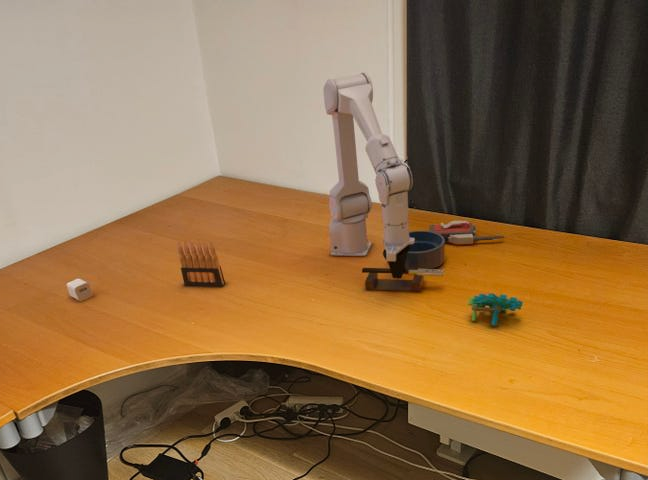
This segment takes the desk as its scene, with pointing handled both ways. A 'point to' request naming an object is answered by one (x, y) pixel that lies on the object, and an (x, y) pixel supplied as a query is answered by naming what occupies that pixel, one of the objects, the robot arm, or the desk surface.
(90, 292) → the usb wall charger
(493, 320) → the teal knobby toy
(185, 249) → the ammunition clip
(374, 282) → the cutlery rest
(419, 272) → the fork
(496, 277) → the desk surface
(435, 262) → the bowl
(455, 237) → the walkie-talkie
